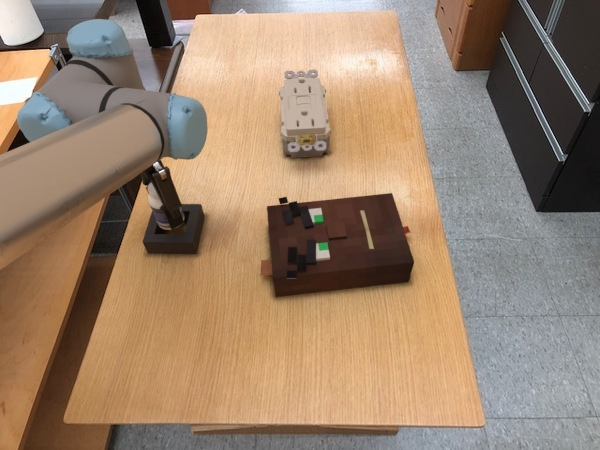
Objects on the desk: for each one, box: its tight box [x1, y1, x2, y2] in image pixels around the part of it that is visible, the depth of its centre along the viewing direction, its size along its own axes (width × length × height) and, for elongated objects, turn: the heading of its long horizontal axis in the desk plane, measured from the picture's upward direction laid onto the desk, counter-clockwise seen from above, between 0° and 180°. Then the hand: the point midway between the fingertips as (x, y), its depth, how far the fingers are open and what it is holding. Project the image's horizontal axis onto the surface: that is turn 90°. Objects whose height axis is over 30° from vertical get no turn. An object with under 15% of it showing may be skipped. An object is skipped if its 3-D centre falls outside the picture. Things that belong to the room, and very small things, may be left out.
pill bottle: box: [147, 183, 184, 231], centre depth 86 cm, size 5×5×10 cm
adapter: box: [141, 203, 206, 255], centre depth 92 cm, size 10×10×4 cm
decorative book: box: [260, 192, 415, 298], centre depth 86 cm, size 19×8×30 cm
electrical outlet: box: [278, 68, 332, 159], centre depth 109 cm, size 12×28×10 cm, turn 3°
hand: (169, 216), depth 89 cm, fingers closed on pill bottle, 5 cm apart
